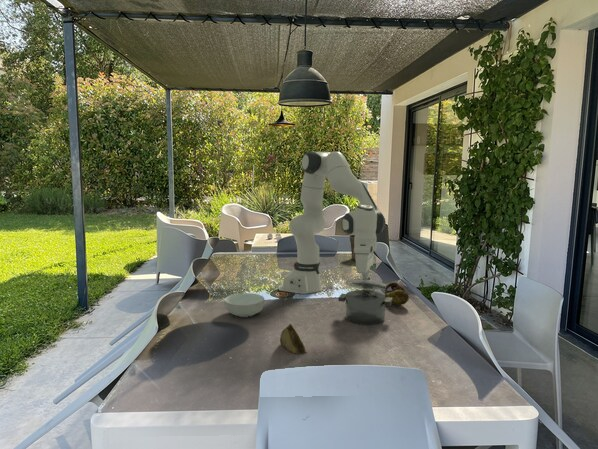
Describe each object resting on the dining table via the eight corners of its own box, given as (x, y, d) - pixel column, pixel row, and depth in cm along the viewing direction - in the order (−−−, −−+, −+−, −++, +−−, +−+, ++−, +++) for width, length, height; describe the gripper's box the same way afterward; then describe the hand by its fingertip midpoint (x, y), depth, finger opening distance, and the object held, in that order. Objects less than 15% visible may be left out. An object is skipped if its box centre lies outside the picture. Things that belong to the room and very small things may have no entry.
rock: (272, 337, 159) (274, 344, 149) (286, 317, 160) (289, 323, 150) (296, 354, 160) (300, 362, 150) (310, 334, 161) (315, 341, 151)
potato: (399, 300, 209) (400, 284, 208) (411, 309, 196) (411, 291, 195) (382, 301, 207) (383, 285, 206) (393, 310, 195) (393, 292, 194)
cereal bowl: (232, 323, 180) (231, 306, 179) (219, 311, 194) (219, 296, 194) (270, 317, 188) (270, 300, 187) (256, 306, 202) (255, 290, 201)
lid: (342, 280, 179) (343, 272, 180) (349, 287, 194) (350, 280, 195) (383, 283, 174) (384, 274, 175) (388, 290, 189) (388, 283, 190)
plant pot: (374, 262, 292) (375, 237, 290) (350, 262, 292) (350, 237, 290) (371, 257, 308) (371, 234, 306) (347, 257, 309) (348, 234, 306)
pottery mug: (409, 301, 210) (402, 287, 207) (390, 308, 212) (383, 295, 209) (404, 287, 221) (397, 274, 218) (386, 295, 223) (380, 282, 220)
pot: (335, 321, 181) (335, 298, 180) (344, 308, 197) (344, 287, 196) (388, 327, 174) (389, 303, 173) (393, 313, 191) (393, 291, 190)
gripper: (362, 241, 189) (362, 273, 191) (352, 249, 170) (353, 285, 172) (376, 242, 188) (376, 274, 189) (369, 250, 168) (369, 286, 170)
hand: (365, 279), depth 180 cm, fingers closed
